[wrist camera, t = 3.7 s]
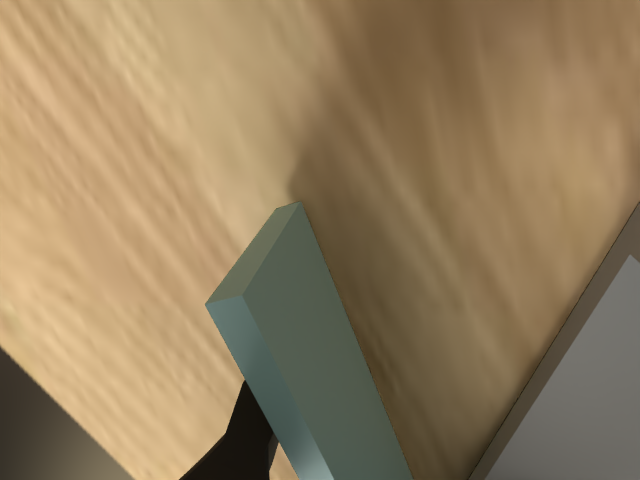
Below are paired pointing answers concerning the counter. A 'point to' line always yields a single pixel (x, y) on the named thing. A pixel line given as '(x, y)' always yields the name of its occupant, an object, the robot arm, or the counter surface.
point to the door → (304, 356)
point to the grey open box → (582, 387)
